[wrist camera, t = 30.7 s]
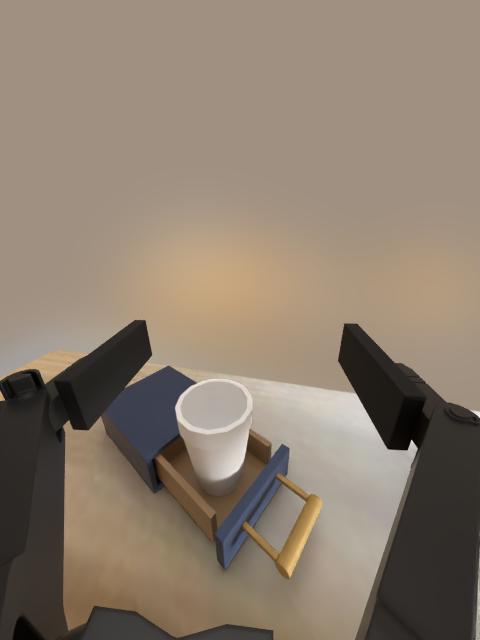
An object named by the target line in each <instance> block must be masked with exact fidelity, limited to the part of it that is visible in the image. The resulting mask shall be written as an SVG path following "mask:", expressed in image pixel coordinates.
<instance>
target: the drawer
mask: <svg viewBox="0 0 480 640" xmlns="http://www.w3.org/2000/svg"><path fill="white" fill-rule="evenodd" d="M288 459H289V448H288V447H286V446H285V445H283V444H282V445H281V446H280V448H279V449H278V450H277V452H276V453H275V454H274V456H273V457H272V458H271V442H269V441H268V440H266V439H265V438H263V437H262V436H260V435H259V434H257V433H255V432H254V431H252V430H251V429H250V430H249V435H248V441H247V447H246V453H245V459H244V465H243V471H242V476H241V479H240V481H239V483H238V485H237V487H236V488H235V489H234V490H232V491H231V492H230V493H229V494H227V495H222V496H214V495H211V494H207V493H206V492H205V491H204V490H203V488H202V487H201V486H200V484H199V481H198V479H197V476H196V473H195V470H194V467H193V465H192V462H191V459H190V456H189V453H188V451H187V448H186V445H185V442H184V439H183V438H182V437H179V438H178V439H177V440H176V441H174V442H173V443H172V444H171V445H169V446H168V447H167V448H166V449H164V450H163V451H162V452H161V453H159V454H158V455H157V456H156V457H154V458H153V459H152V462H153V466H154V470H155V474H156V476H157V477H158V478H159V479H160V480H161V481H162V483H163V484H164V485H165V486H166V487H167V489H168V490H169V491H170V492H171V493H172V494H173V496H174V497H175V498H176V499H177V500H178V502H179V503H180V504H181V505H182V506H183V508H184V509H185V510H186V511H187V512H188V513H189V515H190V516H191V517H192V518H193V519H194V521H195V522H196V523H197V524H198V525H199V526H200V528H201V529H202V530H203V531H204V532H205V534H206V535H207V536H208V537H209V538H210V539H211V541H212V542H213V543H214V542H215V541H216V550H217V559H218V562H219V563H220V564H221V566H222V567H223V568H224V569H225V570H226V568H227V567H228V565H229V564H230V562H231V560H232V559H233V557H234V556H235V554H236V553H237V551H238V550H239V548H240V546H241V545H242V543H243V542H244V540H245V539H246V537H247V536H248V535H249V536H250V537H251V538H252V539H253V540H254V541H255V542H256V543H257V544H258V545H259V546H260V547H261V548H262V549H263V550H264V551H265V552H266V553H267V554H268V555H269V556H270V557H271V558H272V559H273V560H274V561H275V562H276V563H275V565H276V568H277V569H278V571H279V572H280V573H281V575H282V576H284V577H285V578H286V579H290V577H291V575H292V572H293V570H294V568H295V566H296V564H297V561H298V559H299V557H300V555H301V552H302V550H303V548H304V546H305V543H306V541H307V539H308V537H309V534H310V532H311V530H312V528H313V525H314V523H315V521H316V519H317V516H318V514H319V512H320V510H321V508H322V505H323V504H322V501H321V500H320V498H319V497H318V496H316V495H314V494H311V495H310V496H309V495H308V494H307V493H305V492H304V491H303V490H301V489H300V488H299V487H297V486H296V485H295V484H293V483H292V482H290V481H289V480H288V479H286V478H285V476H286V475H287V470H288ZM281 483H282V484H284V485H285V486H286V487H288V488H289V489H290V490H292V491H293V492H294V493H296V494H297V495H298V496H300V497H301V498H302V499H303V500H305V501H306V504H305V506H304V508H303V510H302V512H301V514H300V516H299V518H298V520H297V521H296V523H295V525H294V527H293V529H292V531H291V533H290V535H289V537H288V539H287V541H286V543H285V545H284V547H283V549H282V551H281V553H280V555H279V553H278V552H277V551H276V550H275V549H274V548H273V547H272V546H270V545H269V544H268V543H267V542H266V541H265V540H264V539H263V538H262V537H261V536H260V535H259V534H258V533H257V532H256V531H255V530H254V529H253V526H254V525H255V523H256V522H257V520H258V518H259V517H260V515H261V514H262V512H263V511H264V509H265V507H266V506H267V504H268V503H269V501H270V500H271V498H272V497H273V495H274V493H275V492H276V490H277V489H278V487H279V486H280V484H281Z"/></svg>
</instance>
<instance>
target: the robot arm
mask: <svg viewBox="0 0 480 640" xmlns="http://www.w3.org/2000/svg"><path fill="white" fill-rule="evenodd" d="M151 356H152V352H151V347H150V342H149V337H148V331H147V326H146V321H145V320H135V321H133V322H132V323H130V324H129V325H128V326H126V327H125V328H124V329H122V330H121V331H120V332H118V333H117V334H116V335H114V336H113V337H112V338H110V339H109V340H108V341H106V342H105V343H103V344H102V345H101V346H99V347H98V348H97V349H95V350H94V351H93V352H91V353H90V354H89V355H87V356H85V357H83V358H81V359H79V360H77V361H76V362H75V363H73V364H72V365H71V366H69V367H68V368H67V369H65V371H62V372H61V373H60V374H58V375H57V376H56V377H54V378H53V379H52V380H50V381H49V382H47V383H46V384H44V381H43V379H42V377H41V374H40V372H39V370H36V369H29V370H24V371H20V372H17V373H14V374H12V375H10V376H7V377H6V378H4V379H3V380H1V381H0V391H1V393H2V394H3V396H4V398H5V401H0V640H273V630H265V629H258V628H251V627H244V626H236V625H229V624H226V625H222V626H219V627H215V628H212V629H208V630H205V631H201V632H198V633H194V634H191V635H187V636H184V637H180V638H176V637H173V636H171V635H170V634H168V633H167V632H165V631H164V630H162V629H161V628H159V627H158V626H156V625H155V624H153V623H152V622H150V621H149V620H147V619H146V618H144V617H143V616H141V615H140V614H138V613H137V612H135V611H127V610H120V609H113V608H105V607H98V606H94V608H93V610H92V612H91V615H90V617H89V619H88V621H87V623H85V624H83V625H80V626H78V627H76V628H74V629H72V630H70V631H68V627H67V622H66V618H65V614H64V608H63V558H64V479H65V431H64V428H63V425H64V424H65V423H66V422H67V421H68V420H69V421H70V423H71V425H72V428H73V429H74V430H89V429H90V428H91V427H92V426H93V424H94V423H95V422H96V421H97V420H98V419H99V417H100V416H101V415H102V414H103V413H104V411H105V410H106V409H107V408H108V407H109V406H110V404H111V403H112V402H113V401H114V400H115V399H116V397H117V396H118V395H119V394H120V393H121V391H122V390H123V389H124V388H125V387H126V386H127V384H128V383H129V382H130V381H131V380H132V378H133V377H134V376H135V375H136V374H137V373H138V371H139V370H140V369H141V368H142V367H143V365H144V364H145V363H146V362H147V361H148V360H149V358H150V357H151ZM338 362H339V363H340V365H341V367H342V369H343V370H344V372H345V374H346V376H347V378H348V379H349V381H350V383H351V385H352V387H353V388H354V390H355V392H356V394H357V395H358V397H359V399H360V401H361V403H362V404H363V406H364V408H365V410H366V412H367V413H368V415H369V417H370V419H371V420H372V422H373V424H374V426H375V428H376V429H377V431H378V433H379V435H380V437H381V438H382V440H383V442H384V444H385V445H386V447H387V449H391V450H407V451H408V448H409V445H410V442H411V440H412V441H413V442H414V444H415V445H416V446H417V448H418V450H417V452H416V455H415V458H414V460H413V463H412V465H411V470H410V473H409V477H408V480H407V483H406V486H405V489H404V492H403V495H402V498H401V501H400V504H399V507H398V510H397V513H396V516H395V519H394V522H393V526H392V529H391V532H390V535H389V538H388V541H387V544H386V547H385V550H384V553H383V556H382V559H381V562H380V565H379V568H378V572H377V575H376V578H375V581H374V584H373V587H372V590H371V593H370V596H369V599H368V602H367V605H366V608H365V611H364V614H363V617H362V621H361V624H360V627H359V630H358V633H357V636H356V639H355V640H475V639H476V614H477V589H478V564H479V544H480V418H479V417H478V416H477V415H476V414H474V413H473V412H471V411H470V410H468V409H466V408H464V407H461V406H459V405H455V404H452V403H447V402H446V401H444V400H443V399H442V398H441V397H440V396H439V395H438V394H437V393H436V392H435V391H434V390H433V389H432V388H431V387H430V386H429V385H428V384H426V382H425V381H423V379H422V378H420V377H419V375H417V374H416V373H415V372H414V371H413V370H412V369H410V368H409V367H407V366H405V365H404V364H402V363H394V362H393V361H392V360H391V359H390V358H389V357H388V355H386V353H385V352H384V351H383V350H382V349H381V348H380V347H379V346H378V345H377V344H376V343H375V342H374V341H373V340H372V339H371V338H370V337H369V336H368V335H367V334H366V333H365V332H364V331H363V329H362V328H361V327H360V326H359V325H358V324H344V329H343V335H342V341H341V346H340V353H339V358H338Z"/></svg>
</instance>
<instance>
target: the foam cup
mask: <svg viewBox="0 0 480 640" xmlns="http://www.w3.org/2000/svg"><path fill="white" fill-rule="evenodd" d="M175 410H176V416H177V422H178V427H179V432H180V436H181V437H182V438H183V439H184V442H185V445H186V448H187V451H188V453H189V456H190V459H191V462H192V465H193V467H194V470H195V473H196V476H197V479H198V481H199V484H200V486H201V487H202V488H203V490H204V491H205V492H206V493H207V494H211V495H214V496H222V495H227V494H229V493H230V492H231V491H232V490H234V489H235V488H236V487H237V485H238V483H239V481H240V479H241V476H242V471H243V465H244V459H245V453H246V447H247V441H248V435H249V430H250V427H251V425H252V396H251V395H250V393H249V392H248V390H247V389H246V387H244V386H243V385H241V384H239V383H237V382H235V381H233V380H227V379H220V378H219V379H211V380H204V381H202V382H199V383H197V384H195V385H192V386H190V387H189V388H188V389H187V390H186V391H185V392H184V393H182V394H181V395H180V397H179V399H178V402H177V404H176V407H175Z"/></svg>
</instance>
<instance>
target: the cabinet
mask: <svg viewBox="0 0 480 640" xmlns="http://www.w3.org/2000/svg"><path fill="white" fill-rule="evenodd" d="M195 384H197V383H196V382H195V381H193V380H191V379H190V378H188V377H187V376H185V375H183V374H182V373H180V372H178V371H177V370H175V369H173V368H172V367H170V366H167V367H165V368H163V369H161V370H159V371H157V372H155V373H153V374H152V375H150V376H148V377H146V378H144V379H142V380H140V381H138V382H136V383H134V384H132V385H130V386H128V387H126V388H124V389H123V390H122V391H121V393H120V394H119V395H118V396H117V397H116V399H115V400H114V401H113V402H112V403H111V404H110V406H109V407H108V408H107V409H106V410H105V411H104V413H103V414H102V415H101V417H102V420H103V423H104V426H105V429H106V433H107V434H108V435H109V436H110V438H111V439H112V440H113V442H114V443H115V444H116V445H117V447H118V448H119V449H120V451H121V452H122V453H123V454H124V456H125V457H126V458H127V460H128V461H129V462H130V463H131V465H132V466H133V467H134V469H135V470H136V471H137V472H138V474H139V475H140V476H141V477H142V479H143V480H144V481H145V483H146V484H147V485H148V486H149V488H150V489H151V490H152V492H153V493H154V494H155V493H156V492H157V491H158V490H159V489H160V488H161V487H162V486H164V484H163V483H162V481H161V480H160V479H159V478H158V477H157V476H156V474H155V470H154V466H153V462H152V459H153V458H154V457H156V456H157V455H158V454H159V453H161V452H162V451H163V450H164V449H166V448H167V447H168V446H169V445H171V444H172V443H173V442H174V441H176V440H177V439H178V438H179V437H181V436H180V432H179V427H178V422H177V416H176V410H175V407H176V404H177V402H178V399H179V397H180V395H181V394H182V393H184V392H185V391H186V390H187V389H188V388H189V387H190V386H192V385H195Z"/></svg>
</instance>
